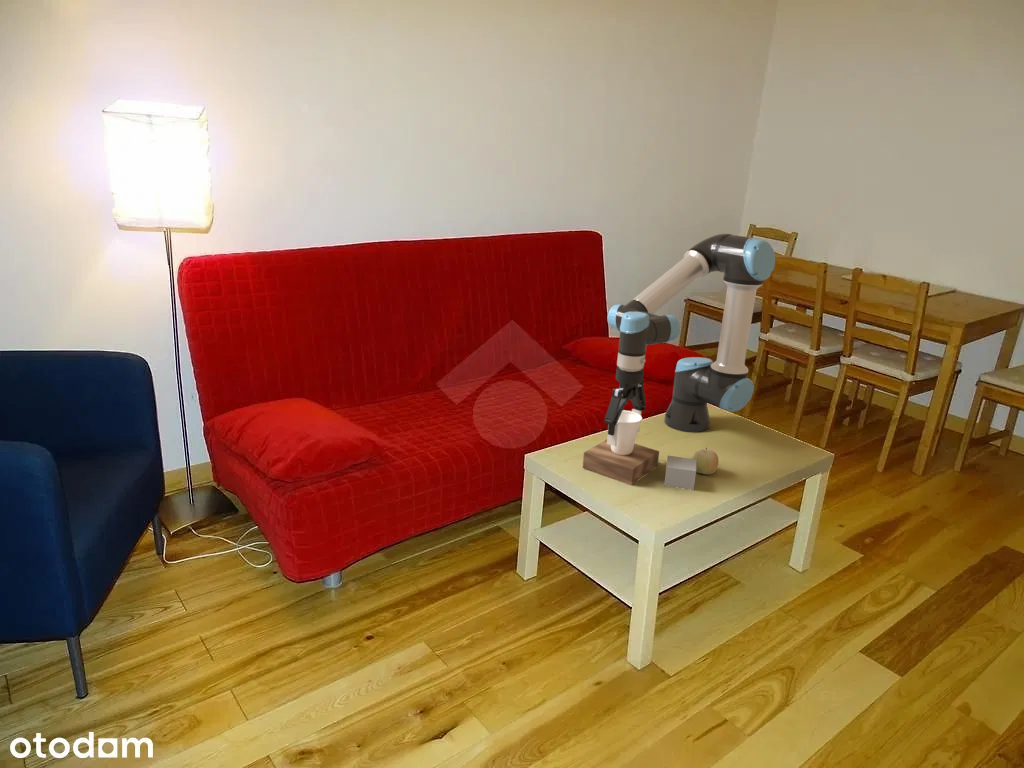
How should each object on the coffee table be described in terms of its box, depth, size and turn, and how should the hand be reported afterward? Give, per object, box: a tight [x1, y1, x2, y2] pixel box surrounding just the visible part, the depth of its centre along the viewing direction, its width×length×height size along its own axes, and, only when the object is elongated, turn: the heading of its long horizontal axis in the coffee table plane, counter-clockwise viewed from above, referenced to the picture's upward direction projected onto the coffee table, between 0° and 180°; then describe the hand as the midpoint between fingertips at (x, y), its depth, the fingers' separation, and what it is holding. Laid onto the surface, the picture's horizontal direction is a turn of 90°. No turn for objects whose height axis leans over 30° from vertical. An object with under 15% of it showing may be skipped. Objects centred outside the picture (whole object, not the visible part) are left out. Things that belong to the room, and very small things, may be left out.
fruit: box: [691, 447, 719, 475], centre depth 207 cm, size 8×7×8 cm
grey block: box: [663, 455, 697, 491], centre depth 201 cm, size 8×8×6 cm
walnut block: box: [582, 438, 660, 486], centre depth 208 cm, size 16×16×5 cm
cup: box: [611, 409, 643, 455], centre depth 206 cm, size 10×10×11 cm
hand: (623, 437), depth 206 cm, fingers open, 13 cm apart
